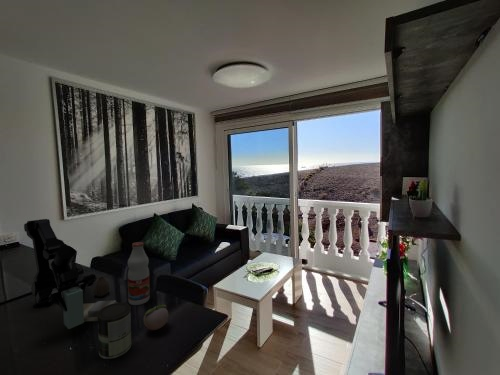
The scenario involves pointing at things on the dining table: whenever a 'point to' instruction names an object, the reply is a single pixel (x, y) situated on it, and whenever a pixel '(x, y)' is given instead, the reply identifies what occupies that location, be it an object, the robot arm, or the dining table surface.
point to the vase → (101, 287)
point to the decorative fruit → (156, 317)
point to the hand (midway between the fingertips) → (74, 307)
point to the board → (86, 308)
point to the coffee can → (114, 330)
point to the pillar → (73, 307)
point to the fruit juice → (138, 275)
